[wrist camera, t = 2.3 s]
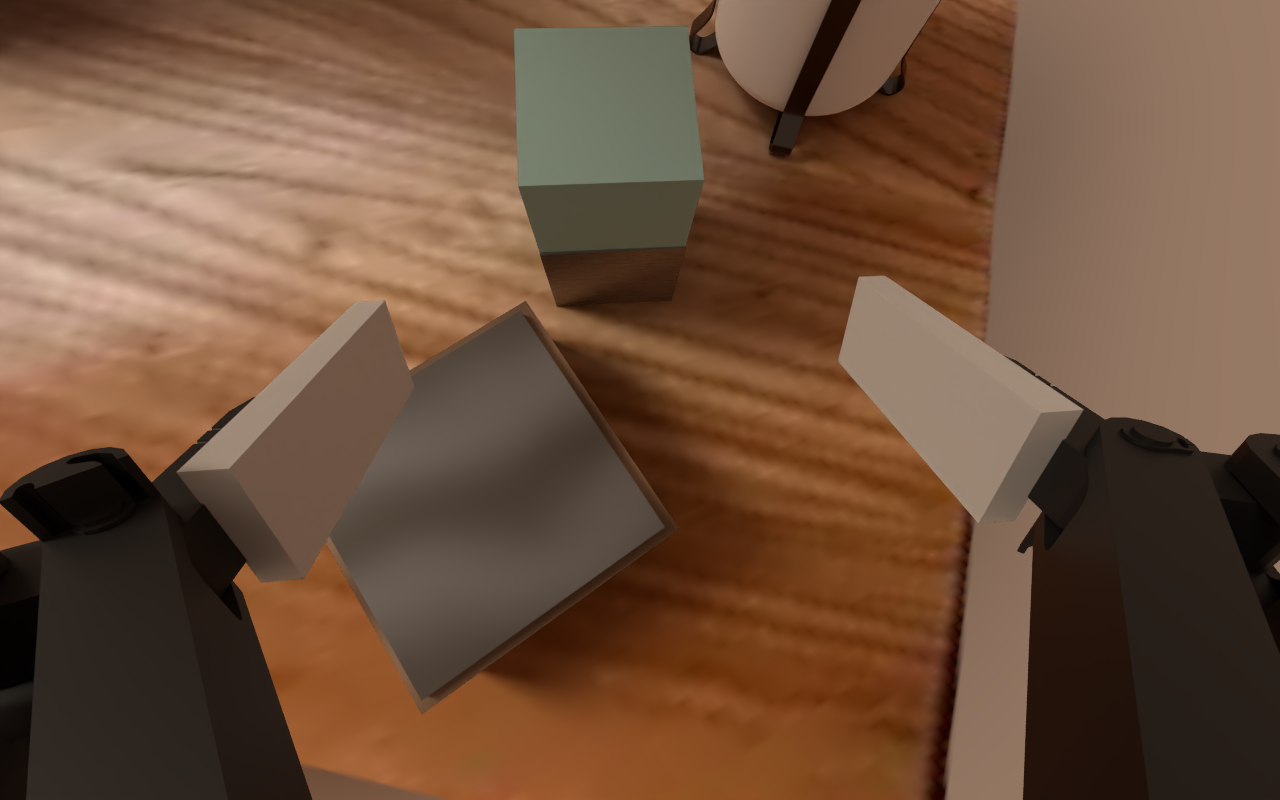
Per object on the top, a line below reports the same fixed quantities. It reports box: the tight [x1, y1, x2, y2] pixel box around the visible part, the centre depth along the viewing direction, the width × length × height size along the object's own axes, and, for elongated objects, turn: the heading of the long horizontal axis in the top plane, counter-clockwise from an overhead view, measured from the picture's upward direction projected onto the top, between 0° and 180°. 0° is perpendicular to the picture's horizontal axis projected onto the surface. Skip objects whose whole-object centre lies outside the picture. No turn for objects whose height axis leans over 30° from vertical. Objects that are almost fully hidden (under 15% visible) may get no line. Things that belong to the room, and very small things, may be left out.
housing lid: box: [514, 26, 704, 252], centre depth 21 cm, size 7×9×5 cm
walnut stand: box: [326, 301, 679, 714], centre depth 24 cm, size 13×13×6 cm
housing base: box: [540, 246, 686, 306], centre depth 27 cm, size 7×7×6 cm
